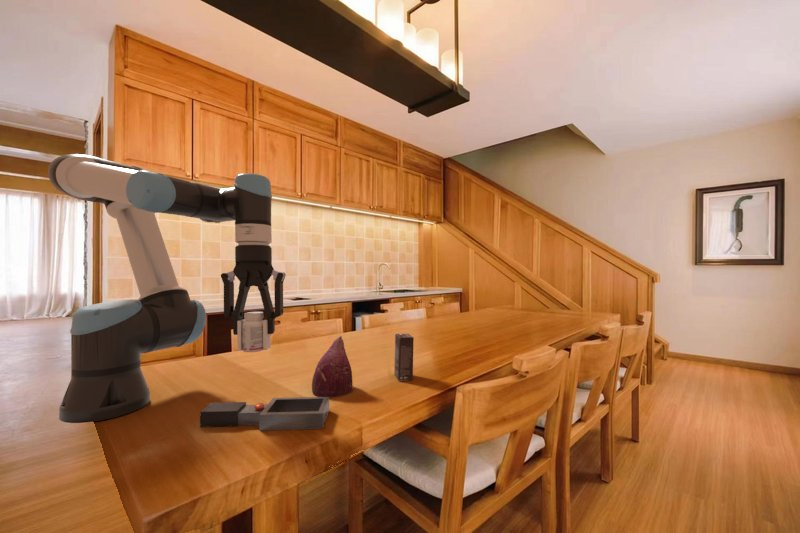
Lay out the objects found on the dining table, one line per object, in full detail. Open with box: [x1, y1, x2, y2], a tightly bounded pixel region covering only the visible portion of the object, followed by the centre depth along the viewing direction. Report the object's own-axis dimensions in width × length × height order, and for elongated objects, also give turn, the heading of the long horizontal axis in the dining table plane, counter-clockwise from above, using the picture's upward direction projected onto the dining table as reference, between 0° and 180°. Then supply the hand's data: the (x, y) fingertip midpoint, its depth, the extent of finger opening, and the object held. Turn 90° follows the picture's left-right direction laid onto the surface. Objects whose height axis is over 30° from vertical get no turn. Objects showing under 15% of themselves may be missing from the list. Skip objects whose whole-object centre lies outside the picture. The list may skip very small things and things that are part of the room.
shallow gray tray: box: [199, 396, 330, 431], centre depth 70 cm, size 24×8×3 cm, turn 94°
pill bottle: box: [242, 311, 265, 353], centre depth 76 cm, size 5×5×8 cm
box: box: [393, 333, 414, 382], centre depth 97 cm, size 6×4×12 cm
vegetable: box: [311, 335, 354, 398], centre depth 89 cm, size 10×10×15 cm
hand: (254, 348), depth 76 cm, fingers closed on pill bottle, 5 cm apart
